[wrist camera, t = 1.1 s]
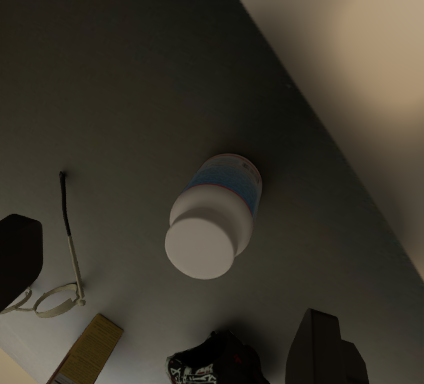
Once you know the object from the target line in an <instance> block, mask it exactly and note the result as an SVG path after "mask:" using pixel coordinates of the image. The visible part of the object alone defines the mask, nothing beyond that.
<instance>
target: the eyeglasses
mask: <svg viewBox="0 0 424 384" xmlns="http://www.w3.org/2000/svg"><path fill="white" fill-rule="evenodd" d="M59 175H60V183H61V191H62V210H63V217H64V221H65V225H66V230H67V234H68V242H69V247H70V251H71V256H72V261H73V266H74V270H75V275H76V280H77V285H78V286H77V285H76V284H69V285H66V286H63V287H59V288H56V289H53V290H51V291H49V292H47V293H44V294H43V296H41V297H40V298H39V299H38V300H37V301H36V303H35V305H34V307H33V308H32V309H22V308H18V307H20V306H21V305H23V304H24V303H25V302H27V300H28V299H29V298H30V297H31V295H32V290H31V288H30V287H28V288H27V289H29V290H30V291H29V293H28V292H26V295H27V294H28V295H27V296H26V297H25V298H24V299H23V300H22V301H20V302H19V303H17V304H16V305H14V306H12V307H9V308H7V309H4V310H3V311H2V312H1V313H0V314H4V313H7V312H10V311H12V310H16V311H32V310H34V311H35V313H36V315H37V316H39V317H41V318H49V317H55V316H57V315H60V314H63V313H64V312H66V311H68V310H70V309H71V308H72V307H73V306H74V305H76V304H78V305H79V306H84V305H85V303H86V301H85V300H82V299H83V297H84V296H85V295H84V290H83V284H82V281H81V276H80V271H79V267H78V261H77V258H76V254H75V249H74V245H73V241H72V237H71V232H70V228H69V223H68V218H67V211H66V187H65V176H64V174H63V173H62V172H61V171H60V174H59ZM70 289H71V290H76V296H77V298H76V299H75V300H74V301H73V302H72V300H71V298H70V299H68V300H67V301H65V302H64V303H62V304H61V305H59V306H57V307H56V308H54V309H52V310H49V311H46V312H40V313H38V312H36V309H37V306H38V305H39V304H40V302H41V301H43V300H44V299H45V298H46V297H48V296H50V295H51V294H54V293H56V292H59V291H62V290H70Z"/></svg>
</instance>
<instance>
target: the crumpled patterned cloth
mask: <svg viewBox="0 0 424 384" xmlns="http://www.w3.org/2000/svg"><path fill="white" fill-rule="evenodd" d="M165 369H166V373H167V375H168V377H169V379H170V381H171V383H172V384H270V383H269V382H268V381H267V380H266V379H265V378H264V377H263V374H262V371H261V364H260V359H259V356H258V354H257V352H256V351H255V350H254V349H253V348H252V347H250V346H248V345H247V346H244V345H243V344H242V342H241V341H240V340H239V339H238V338H237V337H236V336H235V335H234V334H232V333H231V332H230V331H229V330H227V331H224V332H219V333H217V334H215V331H212V332H211V334H210V335H209V337H208V338H207V340H206V341H205V342H204V343H202V344H201V345H199V346H197V347H194V348H191V349H188V350H186V351H183V352H178V353H175V354H174V355H173V356H170V357H167V360H166V364H165Z"/></svg>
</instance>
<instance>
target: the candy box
mask: <svg viewBox="0 0 424 384" xmlns="http://www.w3.org/2000/svg"><path fill="white" fill-rule="evenodd" d="M122 333H123V330H122V329H120V328H119V327H117V326H116V325H115V324H113V323H112V322H110V321H109V320H107V319H106V318H105V317H103V316H102V315H100V314H97V315H96V316H95V318H94V319H93V320H92V321H91V323H90V324H89V325H88V327H87V328H86V329H85V331H84V332H83V333H82V335H81V336H80V337H79V338H78V340H77V341H76V342H75V343H74V345H73V346H72V347H71V349H70V350H69V352H68V353H67V355H66V356H65V357H64V359H63V360H62V362H61V363H60V365H59V366H58V368H57V369H56V370H55V372H54V373H53V375H52V376H51V378H50V379H49V380H48V382H47V383H46V384H94V383H95V381H96V379H97V377H98V375H99V374H100V372H101V370H102V369H103V367H104V365H105V363H106V361H107V360H108V358H109V356H110V354H111V353H112V351H113V349H114V347H115V346H116V344H117V342H118V340H119V338H120V337H121V335H122Z"/></svg>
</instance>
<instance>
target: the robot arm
mask: <svg viewBox="0 0 424 384" xmlns="http://www.w3.org/2000/svg"><path fill="white" fill-rule="evenodd" d="M42 266H43V233H42V224H41V223H40V222H39V221H37V220H34V219H31V218H28V217H25V216H21V215H18V214H11V215H9V216H7V217H5V218H4V219H2V220H1V221H0V313H1V312H2V311H3V310H4V309H5V308H6V307H7V306H8V305H10V304H11V303H12V302H13V301H14V300H15V299H16V298H17V297H18V296H19V295H20V294H21V293H23V292H24V291H25V290H26V289H27V288H28V287H29V286H30V285H31V284H32V283H33V282H34V281H35V280H36V279H37V277H38V276H39V274H40V272H41V269H42ZM285 384H369V380H368V375H367V370H366V365H365V362H364V360H363V359H362V357H361V355H360V353H359V352H358V350H357V348H356V347H355V345H354V343H351V342H348V341H345V340H342V339H341V335H340V328H339V321H338V318H337V317H336V316H333V315H330V314H326V313H323V312H320V311H317V310H314V309H311V308H308V309H307V311H306V313H305V315H304V317H303V319H302V322H301V324H300V326H299V329H298V331H297V333H296V335H295V338H294V340H293V342H292V345H291V347H290V350H289V354H288V358H287V363H286V375H285Z"/></svg>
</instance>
